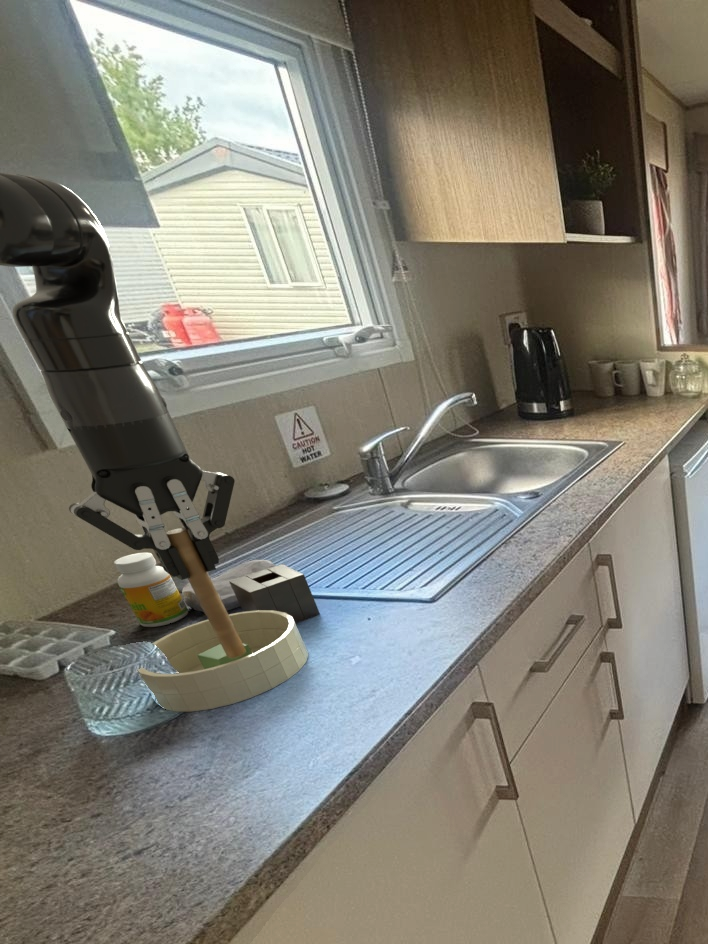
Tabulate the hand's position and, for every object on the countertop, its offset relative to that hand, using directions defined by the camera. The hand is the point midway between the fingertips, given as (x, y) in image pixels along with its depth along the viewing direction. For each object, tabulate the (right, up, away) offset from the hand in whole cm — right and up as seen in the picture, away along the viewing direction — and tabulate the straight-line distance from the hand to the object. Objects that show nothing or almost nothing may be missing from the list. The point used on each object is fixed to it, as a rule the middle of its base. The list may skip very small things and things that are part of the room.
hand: (195, 572), depth 72 cm
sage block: (-4, -12, +9) cm, 16 cm away
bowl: (-4, -13, +10) cm, 16 cm away
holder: (-7, -6, +22) cm, 24 cm away
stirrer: (0, -9, +5) cm, 11 cm away
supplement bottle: (-26, -6, +23) cm, 35 cm away
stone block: (-18, -3, +29) cm, 34 cm away
